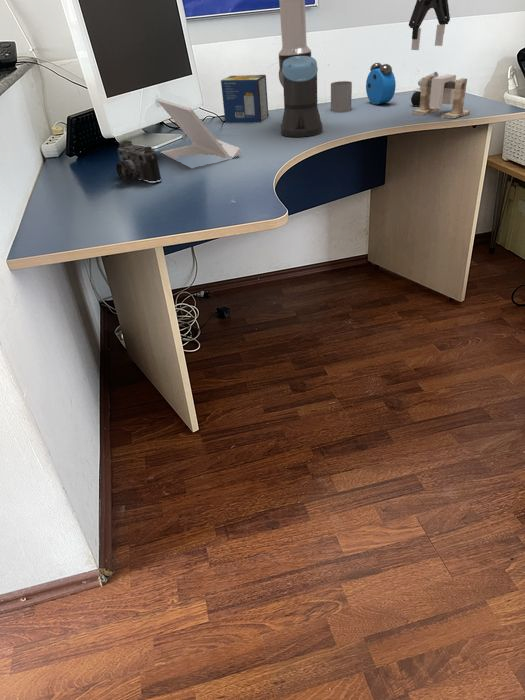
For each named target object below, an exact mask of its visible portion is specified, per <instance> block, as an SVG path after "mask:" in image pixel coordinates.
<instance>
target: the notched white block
mask: <svg viewBox="0 0 525 700" xmlns="http://www.w3.org/2000/svg"><path fill="white" fill-rule="evenodd" d="M438 76H439V77H435V78H432V84H431V94H430V104H429V107H434V108H439V109H440V108H442V107H443V105H453V98H454V90H455V89H449V88H444V83H446V82H449V81H454V82H456V80H457V75H456V74H444V75H438Z"/></svg>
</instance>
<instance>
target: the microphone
mask: <svg viewBox="0 0 525 700" xmlns="http://www.w3.org/2000/svg"><path fill="white" fill-rule="evenodd" d="M420 96H421V91H416V92H415V93H414V92H413V93H412V96H411V97H410V102H411V104H412V105H413V107H420Z"/></svg>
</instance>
